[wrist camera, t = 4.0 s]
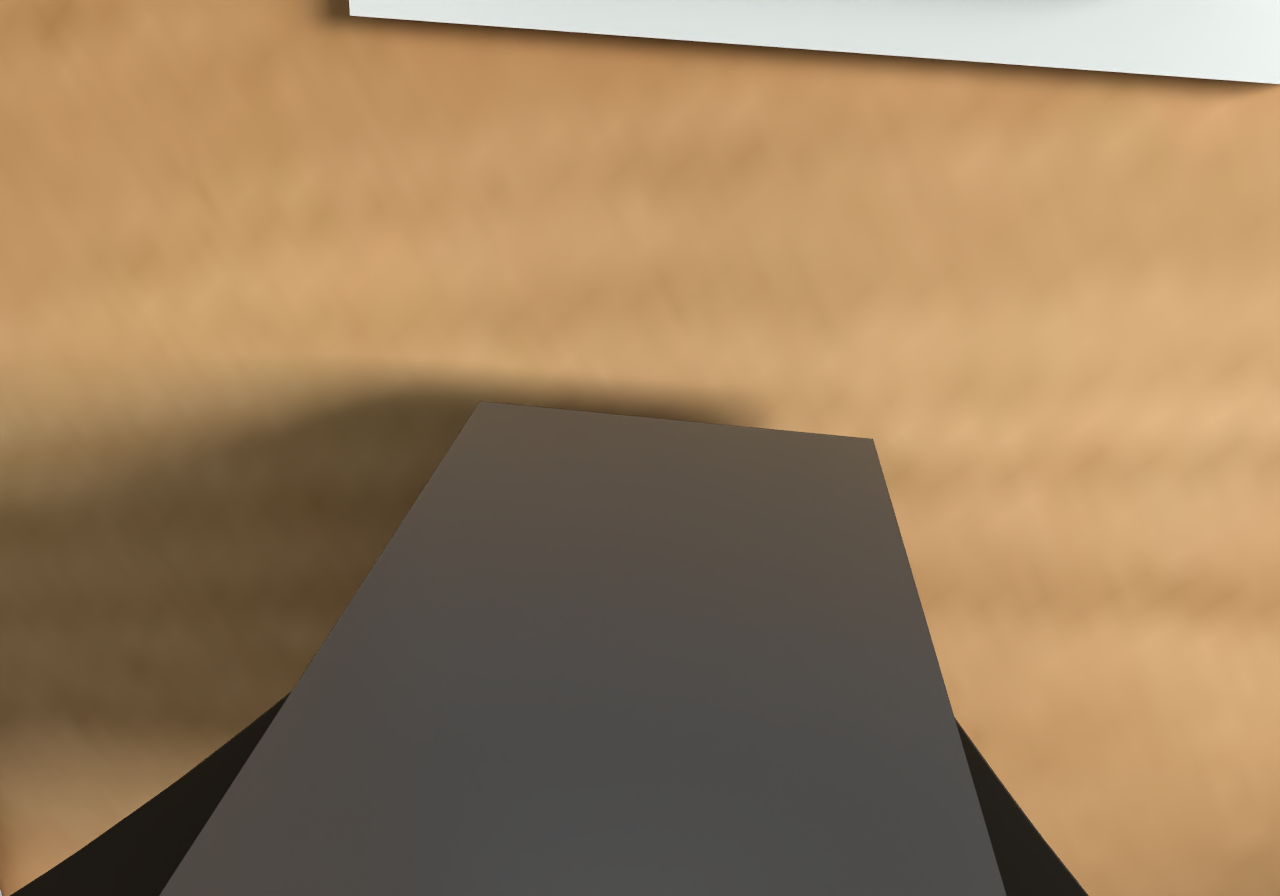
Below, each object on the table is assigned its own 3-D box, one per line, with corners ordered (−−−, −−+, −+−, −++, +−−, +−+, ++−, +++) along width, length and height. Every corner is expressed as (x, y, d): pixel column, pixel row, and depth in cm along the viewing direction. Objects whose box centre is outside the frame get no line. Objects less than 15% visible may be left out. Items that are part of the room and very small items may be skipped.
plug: (481, 775, 12) (201, 1608, 6) (480, 402, 10) (47, 1069, 4) (806, 814, 12) (876, 1721, 6) (873, 439, 10) (1097, 1212, 4)
